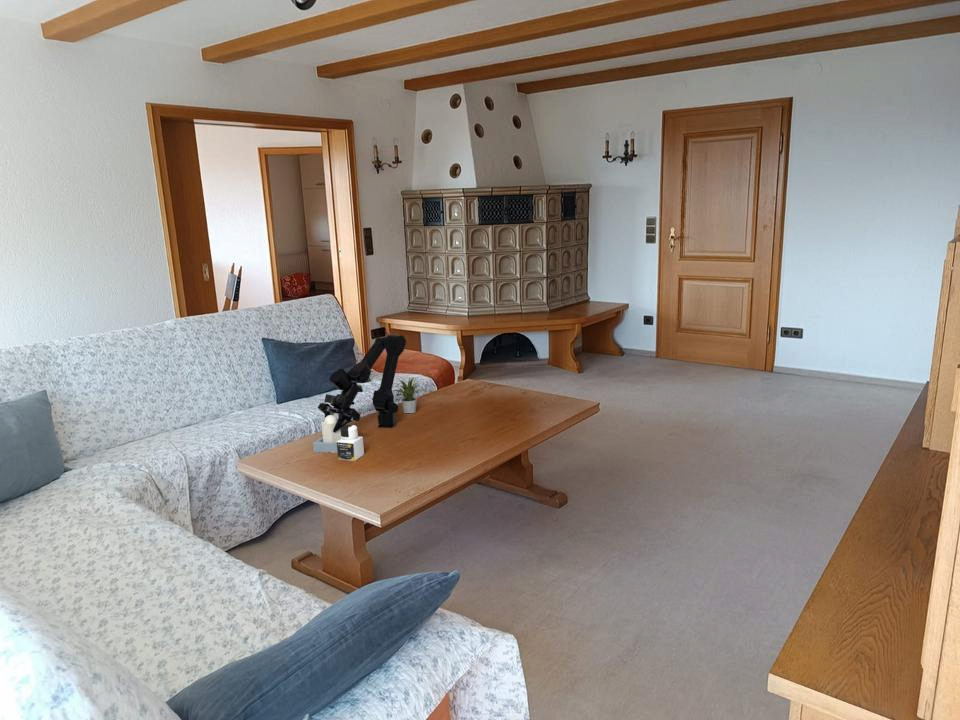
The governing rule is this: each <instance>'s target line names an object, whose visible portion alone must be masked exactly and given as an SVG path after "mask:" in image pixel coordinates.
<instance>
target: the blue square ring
mask: <svg viewBox="0 0 960 720" xmlns="http://www.w3.org/2000/svg"><path fill="white" fill-rule="evenodd" d="M312 448H313V449H312V450H313V453H328V452H331V453H335V454H338V453H337V443H331V442H323V435H322V436H321V437H319V438H318V439H317V440H314V442H312Z"/></svg>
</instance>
